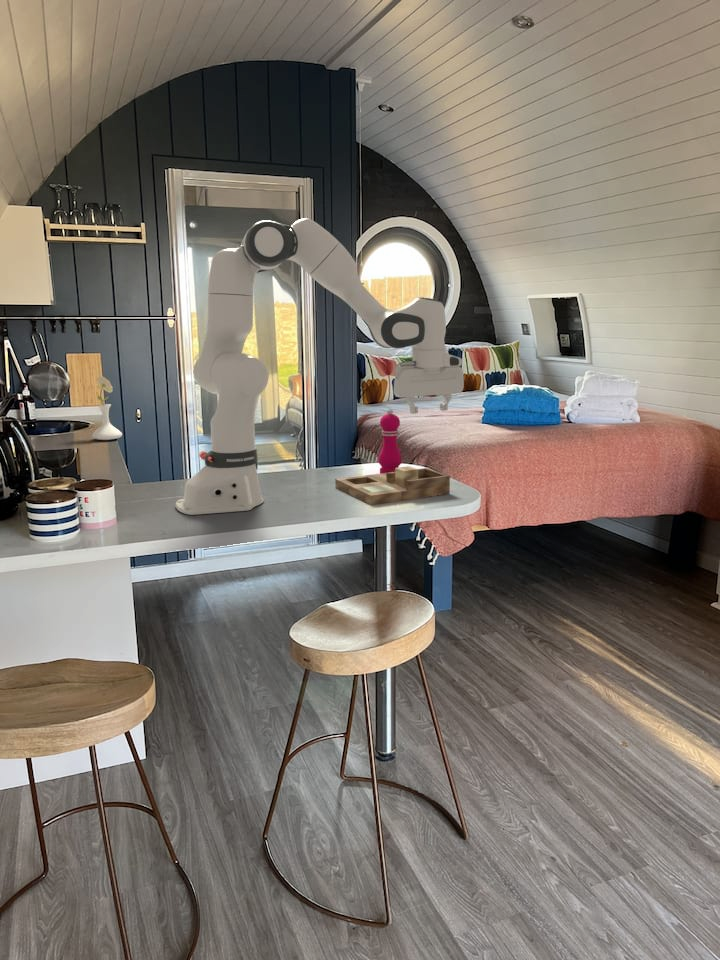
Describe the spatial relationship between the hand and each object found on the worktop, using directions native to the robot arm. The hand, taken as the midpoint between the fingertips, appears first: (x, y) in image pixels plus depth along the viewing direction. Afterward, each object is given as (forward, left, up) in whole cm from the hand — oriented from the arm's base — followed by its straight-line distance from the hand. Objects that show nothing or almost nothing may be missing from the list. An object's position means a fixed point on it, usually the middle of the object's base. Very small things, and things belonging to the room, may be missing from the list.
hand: (429, 411), depth 202 cm
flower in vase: (-66, +136, -22) cm, 153 cm away
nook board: (-9, +5, -22) cm, 24 cm away
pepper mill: (+1, +24, -22) cm, 32 cm away
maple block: (-7, 0, -19) cm, 21 cm away
